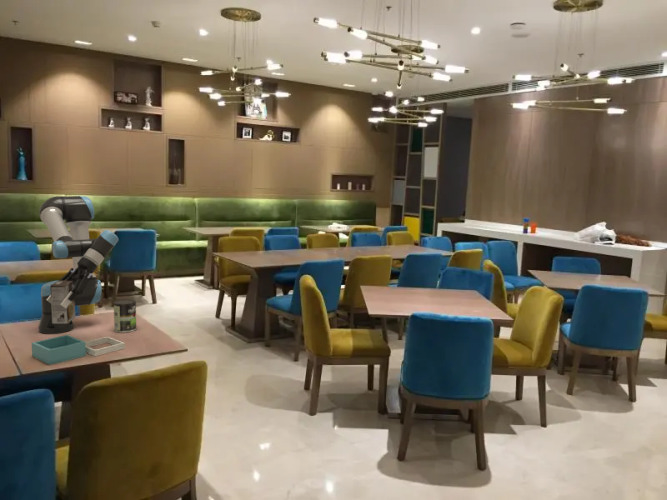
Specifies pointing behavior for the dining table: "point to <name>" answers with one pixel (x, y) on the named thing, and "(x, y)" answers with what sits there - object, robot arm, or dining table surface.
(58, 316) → the coffee box
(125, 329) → the coffee can
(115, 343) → the collar
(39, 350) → the bin
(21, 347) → the dining table surface
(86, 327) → the dining table surface
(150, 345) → the dining table surface
